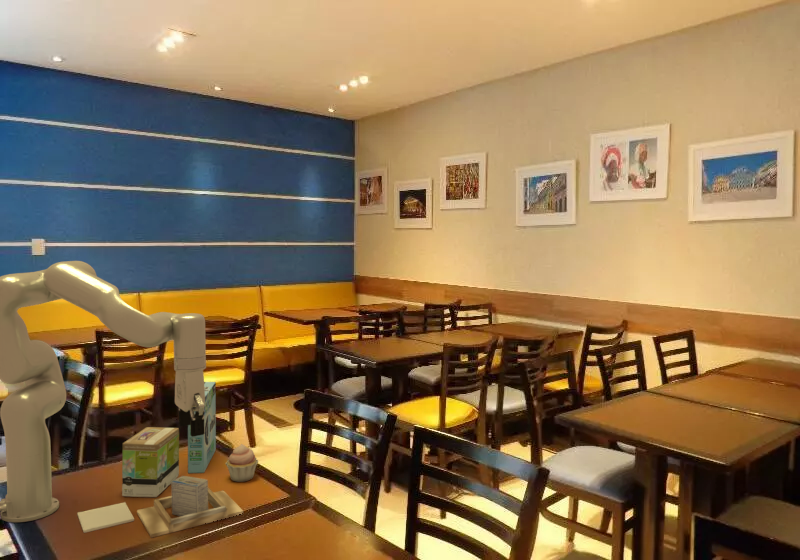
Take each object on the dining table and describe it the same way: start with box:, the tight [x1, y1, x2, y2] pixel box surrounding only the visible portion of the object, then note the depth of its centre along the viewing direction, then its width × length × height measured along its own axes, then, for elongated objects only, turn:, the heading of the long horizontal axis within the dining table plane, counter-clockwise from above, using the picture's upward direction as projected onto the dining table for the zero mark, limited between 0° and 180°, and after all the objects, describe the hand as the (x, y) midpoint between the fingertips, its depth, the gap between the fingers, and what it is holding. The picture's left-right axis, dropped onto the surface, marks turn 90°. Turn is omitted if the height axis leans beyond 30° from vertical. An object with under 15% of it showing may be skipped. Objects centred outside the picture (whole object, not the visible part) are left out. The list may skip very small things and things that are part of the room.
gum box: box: [187, 381, 217, 474], centre depth 187 cm, size 20×5×23 cm, turn 7°
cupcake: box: [225, 443, 259, 483], centre depth 175 cm, size 9×9×10 cm
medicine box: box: [170, 475, 209, 517], centre depth 152 cm, size 8×4×9 cm, turn 71°
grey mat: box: [77, 501, 135, 534], centre depth 149 cm, size 11×11×1 cm
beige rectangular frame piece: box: [136, 487, 244, 539], centre depth 152 cm, size 22×15×3 cm
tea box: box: [121, 426, 180, 498], centre depth 168 cm, size 15×10×15 cm, turn 179°
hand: (191, 430), depth 152 cm, fingers open, 9 cm apart
